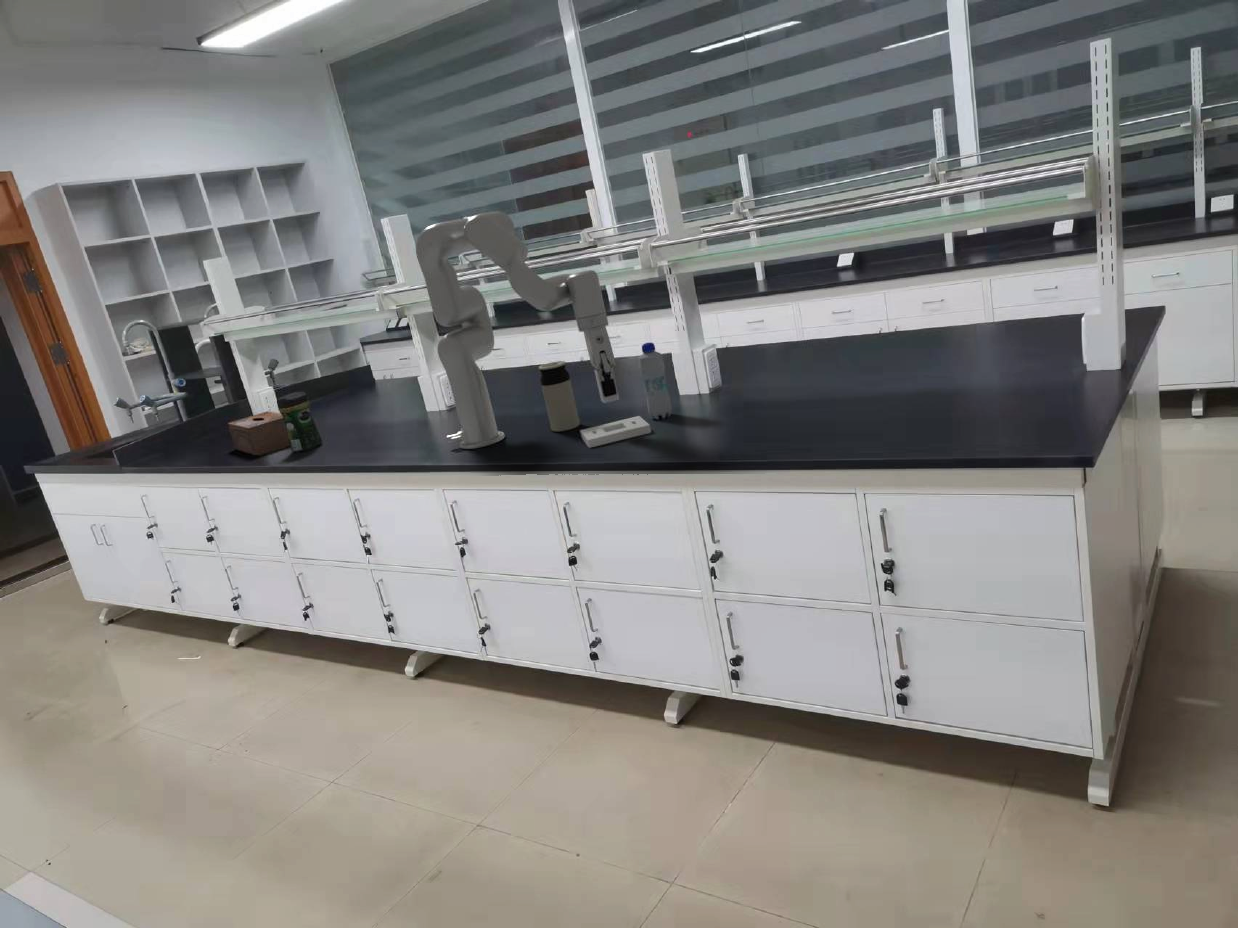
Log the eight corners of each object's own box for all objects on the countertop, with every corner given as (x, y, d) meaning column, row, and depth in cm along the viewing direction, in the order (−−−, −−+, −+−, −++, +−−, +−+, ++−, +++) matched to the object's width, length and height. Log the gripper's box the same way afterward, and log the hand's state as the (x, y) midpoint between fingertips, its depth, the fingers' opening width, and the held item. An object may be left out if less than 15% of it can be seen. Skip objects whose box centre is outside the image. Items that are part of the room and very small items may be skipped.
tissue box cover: (236, 450, 313) (227, 423, 311) (276, 437, 321) (267, 411, 319) (257, 456, 293) (248, 428, 291) (299, 443, 301) (290, 415, 299)
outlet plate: (589, 447, 217) (587, 439, 216) (581, 437, 228) (579, 429, 228) (651, 432, 219) (649, 424, 219) (640, 423, 231) (639, 415, 230)
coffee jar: (311, 443, 295) (294, 390, 290) (326, 443, 290) (310, 388, 285) (287, 453, 287) (270, 398, 282) (303, 452, 283) (285, 397, 278)
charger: (604, 403, 219) (596, 371, 217) (601, 400, 223) (594, 369, 220) (619, 399, 219) (612, 367, 217) (616, 396, 223) (609, 365, 221)
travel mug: (553, 434, 238) (539, 369, 233) (550, 428, 246) (535, 365, 241) (582, 427, 239) (568, 363, 234) (577, 421, 247) (564, 359, 242)
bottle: (656, 413, 237) (642, 341, 231) (678, 412, 233) (664, 338, 228) (644, 421, 232) (629, 347, 226) (666, 420, 228) (652, 344, 222)
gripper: (613, 321, 208) (630, 395, 213) (601, 316, 224) (616, 385, 229) (583, 328, 207) (600, 403, 212) (572, 323, 223) (589, 392, 228)
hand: (608, 393), depth 221 cm, fingers closed on charger, 4 cm apart
